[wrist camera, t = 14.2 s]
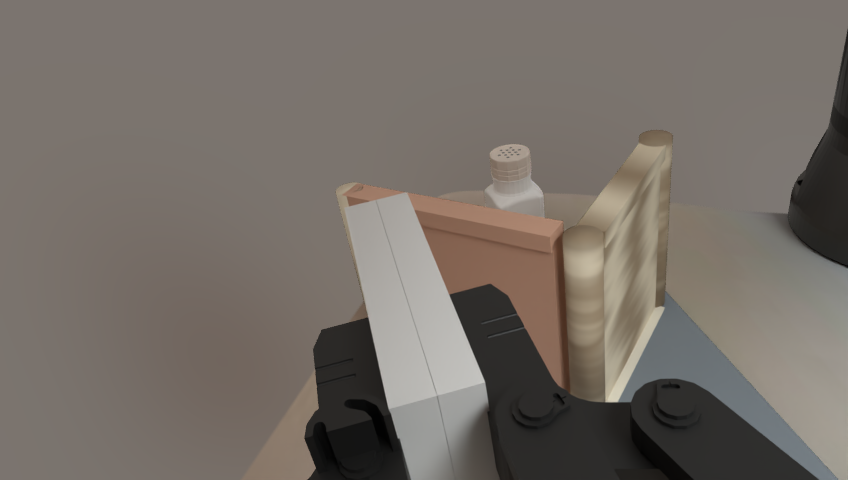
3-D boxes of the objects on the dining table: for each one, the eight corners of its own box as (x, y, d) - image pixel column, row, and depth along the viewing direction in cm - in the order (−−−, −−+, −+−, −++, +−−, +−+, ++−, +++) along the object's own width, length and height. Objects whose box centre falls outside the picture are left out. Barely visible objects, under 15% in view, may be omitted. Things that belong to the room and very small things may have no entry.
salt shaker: (506, 271, 54) (495, 168, 49) (488, 247, 57) (476, 149, 52) (550, 257, 55) (543, 155, 50) (530, 235, 58) (522, 137, 53)
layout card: (662, 291, 49) (662, 286, 49) (904, 559, 30) (907, 553, 30) (362, 370, 47) (360, 365, 46) (424, 710, 28) (422, 705, 28)
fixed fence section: (598, 432, 38) (594, 249, 32) (566, 421, 40) (556, 242, 33) (668, 295, 48) (676, 131, 41) (640, 289, 49) (644, 128, 42)
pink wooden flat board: (572, 392, 41) (563, 220, 34) (560, 411, 40) (549, 238, 33) (384, 329, 49) (347, 180, 42) (369, 344, 48) (329, 193, 41)
